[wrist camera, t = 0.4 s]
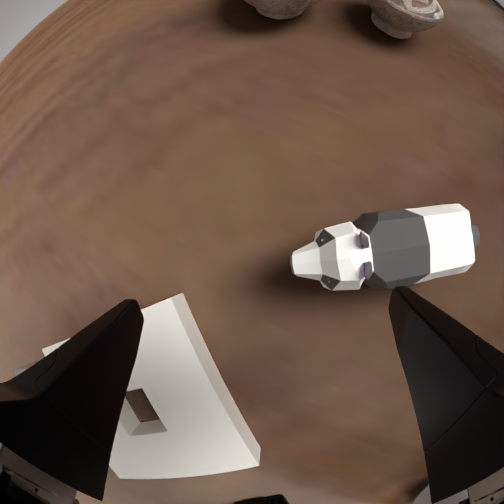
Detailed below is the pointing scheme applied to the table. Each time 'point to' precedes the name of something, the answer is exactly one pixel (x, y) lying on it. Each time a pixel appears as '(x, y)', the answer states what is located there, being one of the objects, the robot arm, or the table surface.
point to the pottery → (383, 16)
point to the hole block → (179, 405)
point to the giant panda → (390, 248)
